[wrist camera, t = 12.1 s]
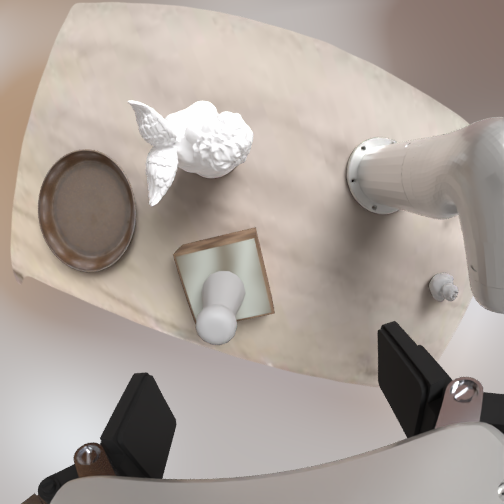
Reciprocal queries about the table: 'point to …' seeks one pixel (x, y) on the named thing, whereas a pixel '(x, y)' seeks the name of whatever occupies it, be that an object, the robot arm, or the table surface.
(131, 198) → the plant saucer
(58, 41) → the table surface
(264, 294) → the square box
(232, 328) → the salt shaker
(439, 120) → the table surface
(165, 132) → the cherub figurine
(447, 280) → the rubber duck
